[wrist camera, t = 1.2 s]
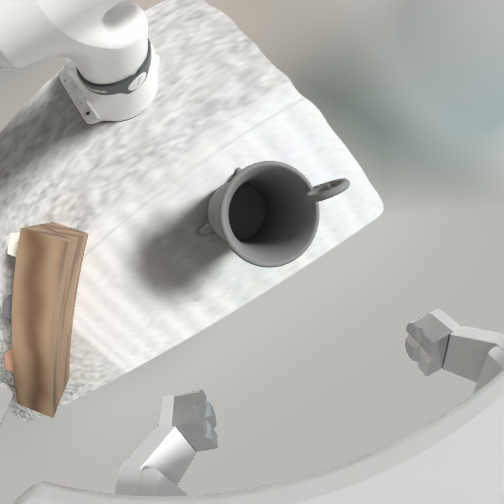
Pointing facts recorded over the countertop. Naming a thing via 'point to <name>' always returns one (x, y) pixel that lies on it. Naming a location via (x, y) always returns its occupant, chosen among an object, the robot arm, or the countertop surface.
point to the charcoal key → (7, 307)
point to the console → (44, 312)
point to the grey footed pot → (268, 212)
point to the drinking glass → (4, 399)
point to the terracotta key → (9, 360)
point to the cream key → (13, 244)
